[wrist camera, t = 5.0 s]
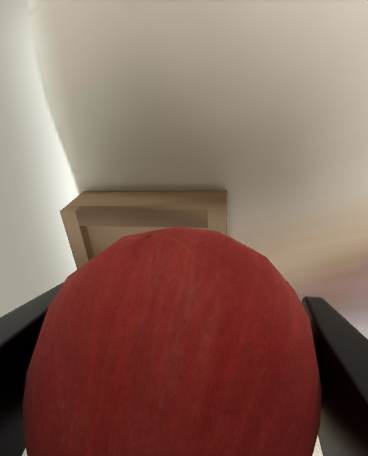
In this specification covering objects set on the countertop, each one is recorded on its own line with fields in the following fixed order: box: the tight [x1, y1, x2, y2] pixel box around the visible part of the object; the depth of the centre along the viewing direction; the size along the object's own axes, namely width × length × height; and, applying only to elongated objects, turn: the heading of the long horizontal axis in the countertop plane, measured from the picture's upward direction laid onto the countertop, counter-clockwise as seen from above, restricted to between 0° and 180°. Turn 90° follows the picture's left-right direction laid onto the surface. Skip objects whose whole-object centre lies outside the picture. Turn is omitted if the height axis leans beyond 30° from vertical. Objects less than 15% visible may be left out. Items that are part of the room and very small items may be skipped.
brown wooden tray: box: [60, 191, 227, 270], centre depth 21 cm, size 10×10×3 cm
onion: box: [23, 227, 322, 456], centre depth 6 cm, size 6×6×8 cm
